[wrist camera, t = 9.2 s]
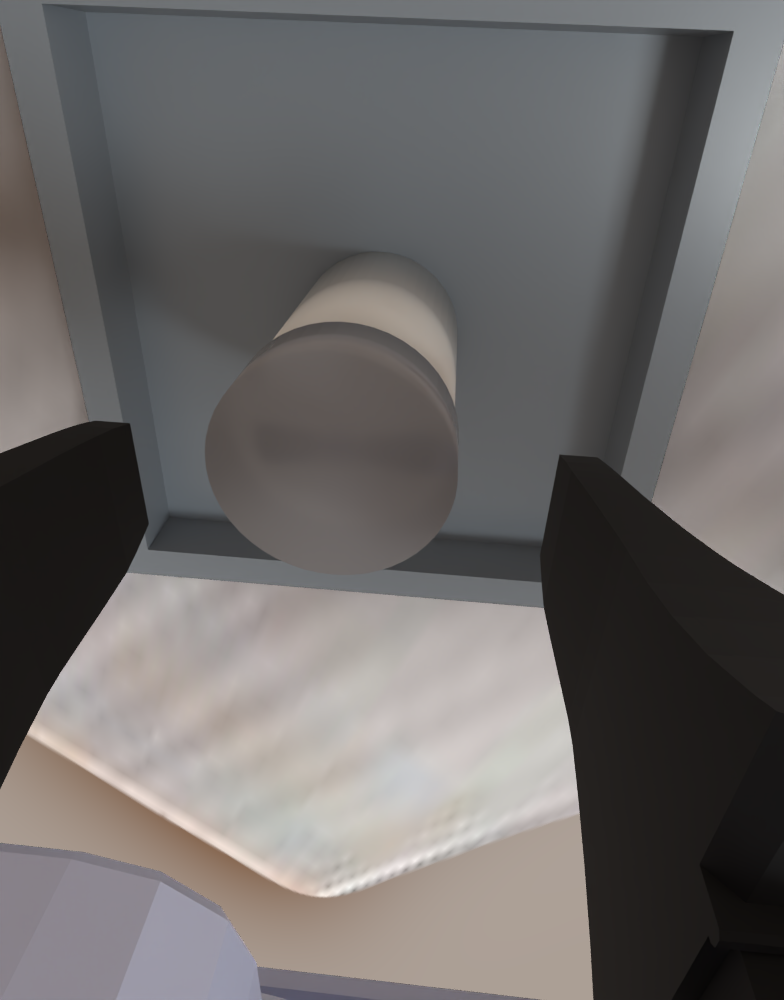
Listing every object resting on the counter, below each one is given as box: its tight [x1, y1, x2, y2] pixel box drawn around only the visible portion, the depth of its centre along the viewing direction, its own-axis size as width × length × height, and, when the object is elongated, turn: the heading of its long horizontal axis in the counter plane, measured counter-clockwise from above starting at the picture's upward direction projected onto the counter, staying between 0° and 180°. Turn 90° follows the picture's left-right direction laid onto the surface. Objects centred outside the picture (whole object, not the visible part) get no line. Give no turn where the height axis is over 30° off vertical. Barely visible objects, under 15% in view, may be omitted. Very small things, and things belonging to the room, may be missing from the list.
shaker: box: [205, 252, 459, 575], centre depth 15 cm, size 5×5×8 cm
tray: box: [0, 0, 784, 608], centre depth 18 cm, size 16×16×2 cm
